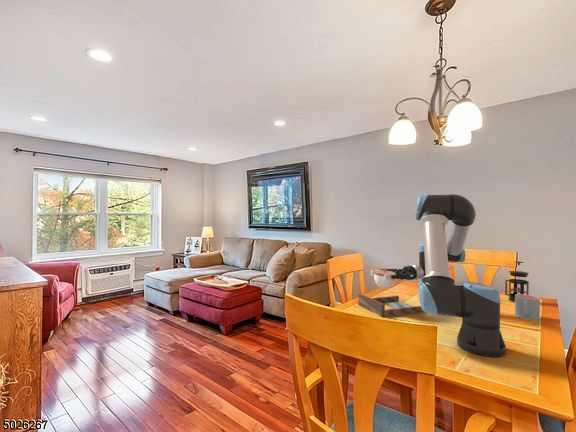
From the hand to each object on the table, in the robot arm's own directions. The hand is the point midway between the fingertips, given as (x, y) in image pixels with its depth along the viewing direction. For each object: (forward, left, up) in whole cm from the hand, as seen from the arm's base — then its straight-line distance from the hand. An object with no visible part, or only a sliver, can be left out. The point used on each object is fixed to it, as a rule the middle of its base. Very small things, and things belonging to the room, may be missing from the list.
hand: (377, 274), depth 152 cm
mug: (+3, -69, -18) cm, 72 cm away
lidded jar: (+2, -4, -7) cm, 8 cm away
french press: (+36, -82, -18) cm, 91 cm away
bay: (+4, -7, -18) cm, 20 cm away
